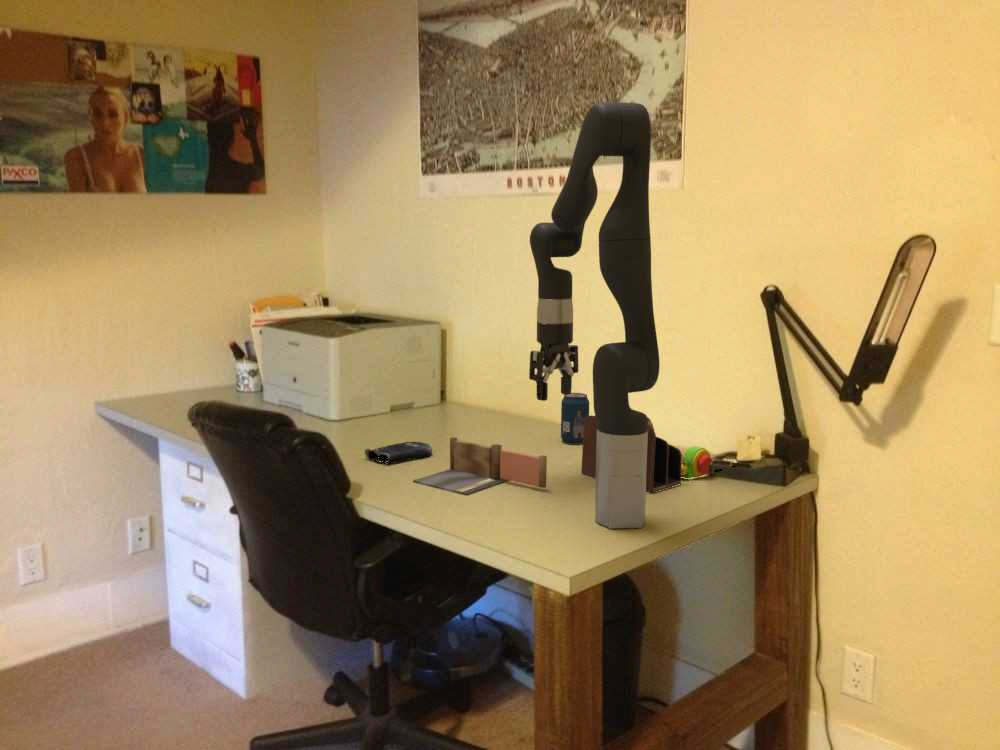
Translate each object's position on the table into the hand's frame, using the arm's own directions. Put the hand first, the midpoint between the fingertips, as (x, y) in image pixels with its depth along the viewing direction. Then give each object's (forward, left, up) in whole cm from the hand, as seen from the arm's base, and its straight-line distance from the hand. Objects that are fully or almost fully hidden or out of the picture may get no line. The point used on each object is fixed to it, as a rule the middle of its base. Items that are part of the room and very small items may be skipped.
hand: (554, 397), depth 192 cm
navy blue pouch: (+23, +32, -19) cm, 43 cm away
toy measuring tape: (+3, -35, -19) cm, 39 cm away
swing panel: (-3, +7, -17) cm, 19 cm away
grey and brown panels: (+2, +19, -18) cm, 26 cm away
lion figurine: (+17, -24, -18) cm, 35 cm away
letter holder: (0, -17, -19) cm, 25 cm away
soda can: (+34, -11, -18) cm, 40 cm away
